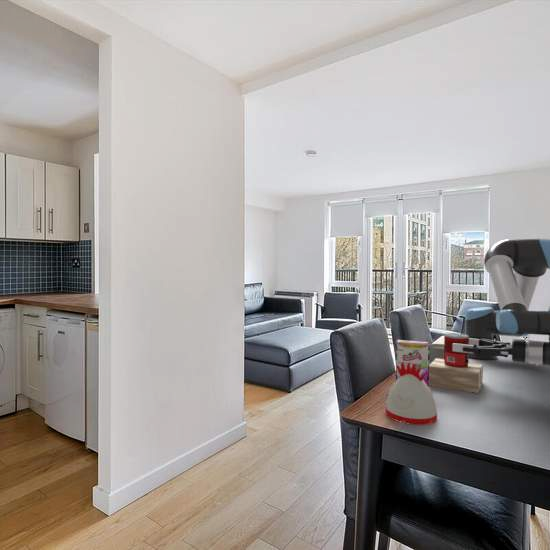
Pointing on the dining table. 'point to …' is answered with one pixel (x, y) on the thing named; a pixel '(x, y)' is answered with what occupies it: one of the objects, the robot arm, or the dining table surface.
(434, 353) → the coffee mug
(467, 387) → the oak box
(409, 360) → the candy bar box
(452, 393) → the dining table surface
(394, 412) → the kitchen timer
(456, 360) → the canned food
